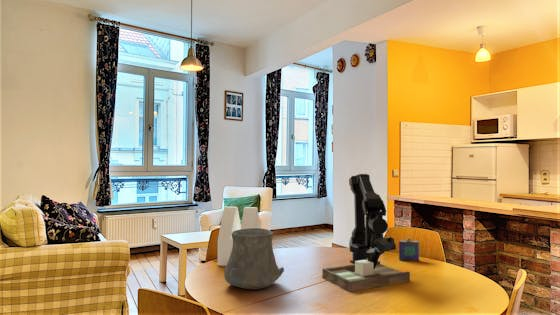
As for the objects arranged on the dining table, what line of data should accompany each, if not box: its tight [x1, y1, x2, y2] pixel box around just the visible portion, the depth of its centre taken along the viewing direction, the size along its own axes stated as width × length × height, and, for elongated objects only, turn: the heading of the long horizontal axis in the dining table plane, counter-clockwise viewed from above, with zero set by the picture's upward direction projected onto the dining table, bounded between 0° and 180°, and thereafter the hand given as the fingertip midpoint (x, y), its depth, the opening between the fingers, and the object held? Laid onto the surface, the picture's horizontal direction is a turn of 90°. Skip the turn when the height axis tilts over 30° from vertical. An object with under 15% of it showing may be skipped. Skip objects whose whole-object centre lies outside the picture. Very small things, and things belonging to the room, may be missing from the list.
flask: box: [398, 237, 420, 262], centre depth 172 cm, size 9×3×11 cm, turn 87°
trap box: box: [321, 260, 411, 293], centre depth 143 cm, size 18×28×4 cm, turn 115°
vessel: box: [223, 228, 285, 290], centre depth 136 cm, size 22×22×20 cm
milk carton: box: [217, 206, 262, 267], centre depth 171 cm, size 19×15×25 cm
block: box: [355, 259, 374, 276], centre depth 143 cm, size 5×5×4 cm
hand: (373, 269), depth 144 cm, fingers closed
